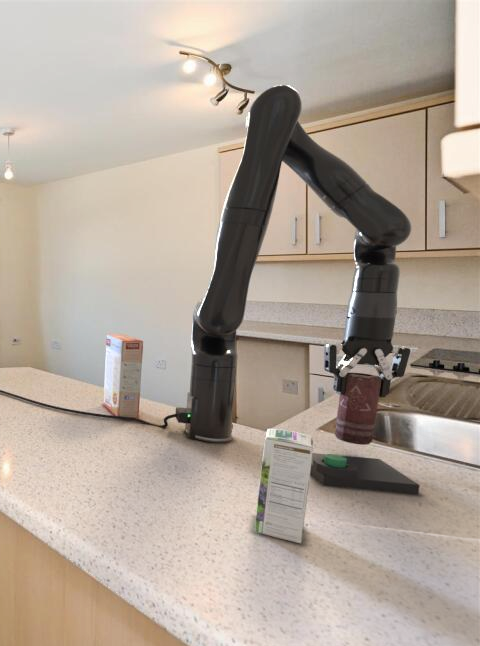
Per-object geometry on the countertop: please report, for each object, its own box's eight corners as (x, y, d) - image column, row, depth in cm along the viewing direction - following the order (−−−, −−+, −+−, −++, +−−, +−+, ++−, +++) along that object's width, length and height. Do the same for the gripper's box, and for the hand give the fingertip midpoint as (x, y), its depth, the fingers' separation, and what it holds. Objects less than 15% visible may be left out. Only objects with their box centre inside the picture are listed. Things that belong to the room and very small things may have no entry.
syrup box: (256, 516, 73) (264, 426, 71) (303, 527, 70) (313, 434, 68) (254, 532, 68) (262, 437, 66) (303, 545, 65) (314, 445, 63)
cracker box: (140, 419, 123) (144, 340, 120) (117, 419, 123) (120, 340, 120) (123, 404, 136) (126, 333, 134) (102, 404, 136) (105, 333, 134)
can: (380, 446, 94) (390, 378, 92) (344, 443, 95) (353, 376, 93) (361, 436, 100) (370, 372, 98) (328, 434, 101) (336, 370, 99)
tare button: (328, 467, 84) (329, 459, 83) (320, 460, 87) (321, 452, 86) (349, 469, 83) (350, 461, 83) (340, 462, 86) (341, 454, 86)
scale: (320, 486, 83) (322, 467, 83) (293, 460, 95) (294, 443, 95) (420, 496, 79) (423, 477, 79) (378, 468, 91) (380, 450, 91)
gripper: (402, 314, 96) (390, 393, 98) (320, 312, 100) (311, 388, 102) (426, 317, 89) (413, 402, 91) (337, 314, 92) (327, 396, 95)
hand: (359, 394), depth 96 cm, fingers closed on can, 6 cm apart
